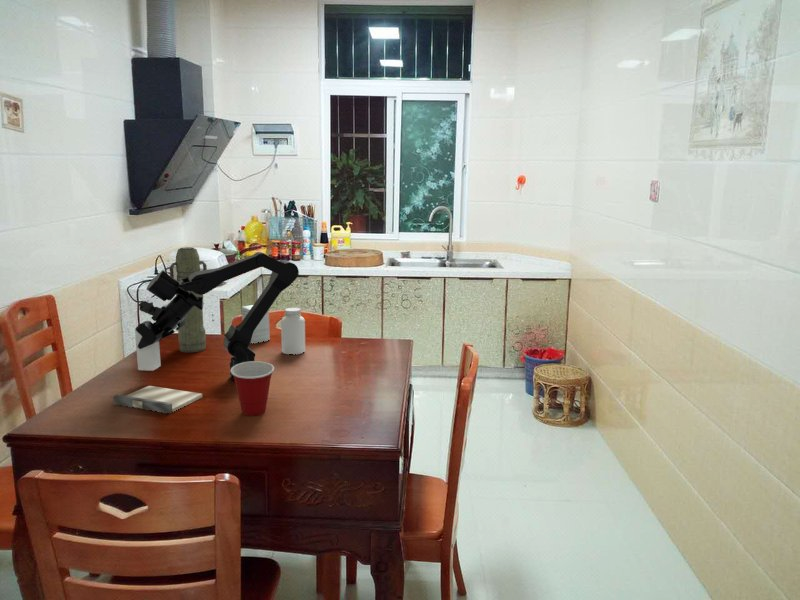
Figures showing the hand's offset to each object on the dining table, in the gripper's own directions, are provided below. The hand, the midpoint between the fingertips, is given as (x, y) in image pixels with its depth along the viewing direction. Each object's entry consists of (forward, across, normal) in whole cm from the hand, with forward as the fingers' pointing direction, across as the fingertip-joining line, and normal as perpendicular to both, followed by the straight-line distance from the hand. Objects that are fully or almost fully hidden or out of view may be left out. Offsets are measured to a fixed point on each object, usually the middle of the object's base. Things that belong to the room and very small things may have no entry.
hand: (143, 345), depth 180 cm
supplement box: (-3, -50, +19) cm, 54 cm away
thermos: (+10, -36, +7) cm, 38 cm away
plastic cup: (-19, +17, +35) cm, 44 cm away
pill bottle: (-15, -37, +32) cm, 51 cm away
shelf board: (0, +13, +16) cm, 20 cm away
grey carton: (+4, 0, +6) cm, 7 cm away
